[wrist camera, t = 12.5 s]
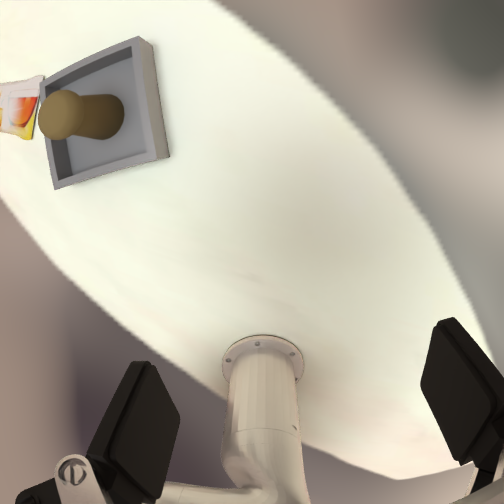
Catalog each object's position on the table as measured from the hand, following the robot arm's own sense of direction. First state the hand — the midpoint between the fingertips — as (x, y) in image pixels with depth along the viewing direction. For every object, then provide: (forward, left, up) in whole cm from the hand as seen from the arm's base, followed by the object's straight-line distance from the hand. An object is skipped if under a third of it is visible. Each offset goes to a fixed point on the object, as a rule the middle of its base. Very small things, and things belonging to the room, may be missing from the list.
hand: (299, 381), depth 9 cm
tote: (+15, +19, -28) cm, 37 cm away
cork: (+15, +19, -27) cm, 36 cm away
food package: (+26, +43, -29) cm, 58 cm away
